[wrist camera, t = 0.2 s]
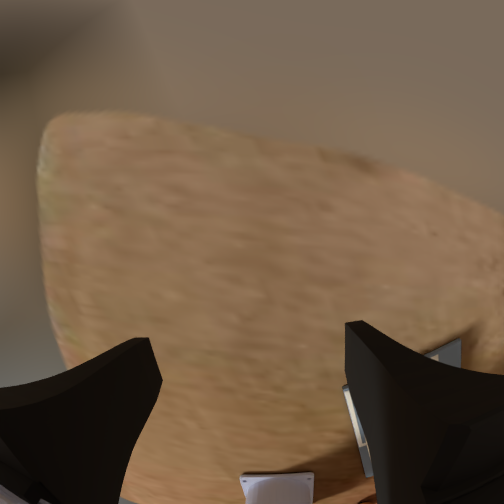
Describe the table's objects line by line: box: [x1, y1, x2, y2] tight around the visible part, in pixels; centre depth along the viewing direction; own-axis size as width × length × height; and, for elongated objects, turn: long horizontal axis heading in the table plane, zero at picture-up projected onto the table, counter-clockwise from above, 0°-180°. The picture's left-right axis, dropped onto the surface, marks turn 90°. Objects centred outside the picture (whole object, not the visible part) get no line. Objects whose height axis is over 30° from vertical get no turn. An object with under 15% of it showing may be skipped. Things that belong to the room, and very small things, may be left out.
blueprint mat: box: [342, 338, 461, 478], centre depth 22 cm, size 16×11×1 cm
